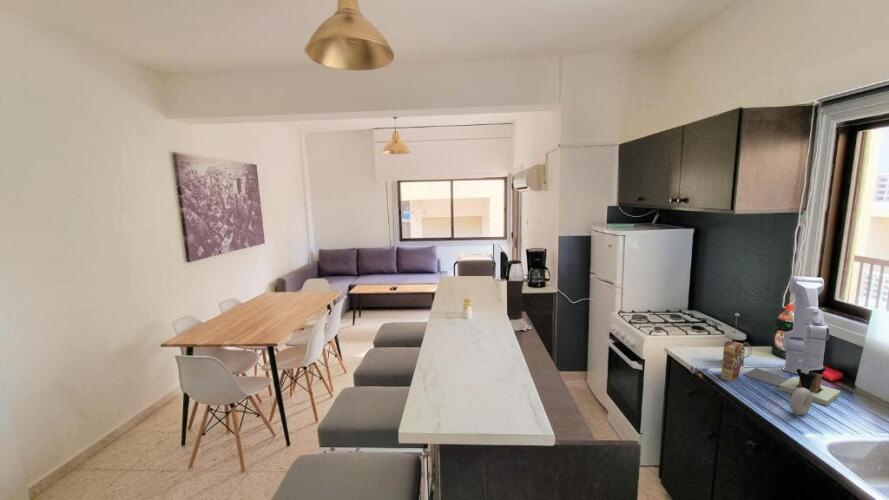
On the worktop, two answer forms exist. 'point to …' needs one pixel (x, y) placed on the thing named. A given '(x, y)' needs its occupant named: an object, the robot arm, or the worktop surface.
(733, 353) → the candy box
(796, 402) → the donut
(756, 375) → the rubber mat
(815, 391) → the walnut block
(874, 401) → the worktop surface
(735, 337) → the french press
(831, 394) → the pocket holder
